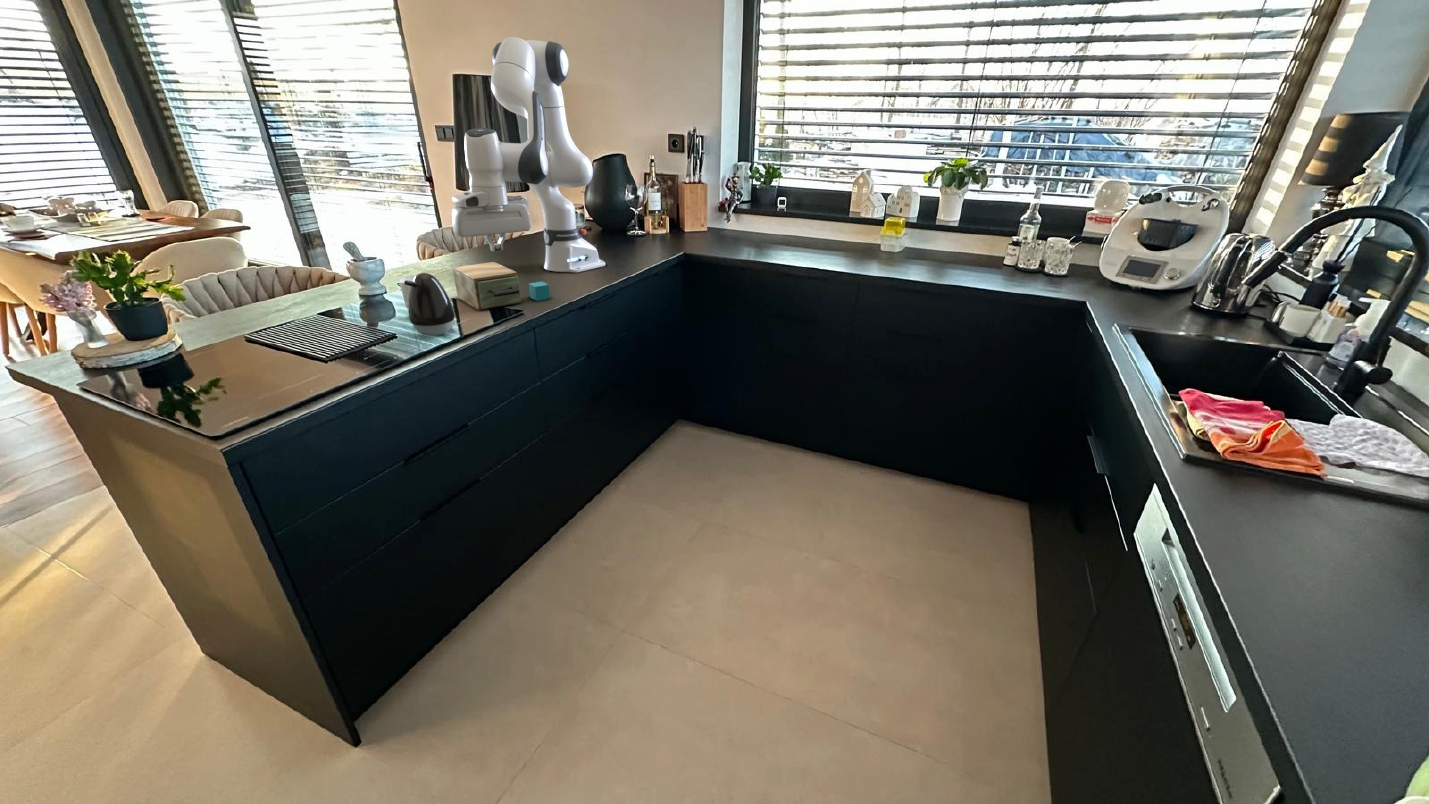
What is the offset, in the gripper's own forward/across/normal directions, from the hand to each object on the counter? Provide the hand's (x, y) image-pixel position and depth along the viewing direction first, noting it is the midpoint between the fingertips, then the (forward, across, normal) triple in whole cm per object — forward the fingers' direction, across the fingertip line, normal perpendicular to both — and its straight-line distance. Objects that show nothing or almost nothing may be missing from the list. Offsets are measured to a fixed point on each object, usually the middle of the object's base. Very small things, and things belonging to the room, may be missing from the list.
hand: (496, 250), depth 152 cm
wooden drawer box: (+17, 0, -11) cm, 20 cm away
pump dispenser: (+17, +22, +8) cm, 29 cm away
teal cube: (+17, -13, -4) cm, 22 cm away
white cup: (+17, +20, -7) cm, 27 cm away
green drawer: (+16, 0, -7) cm, 17 cm away
